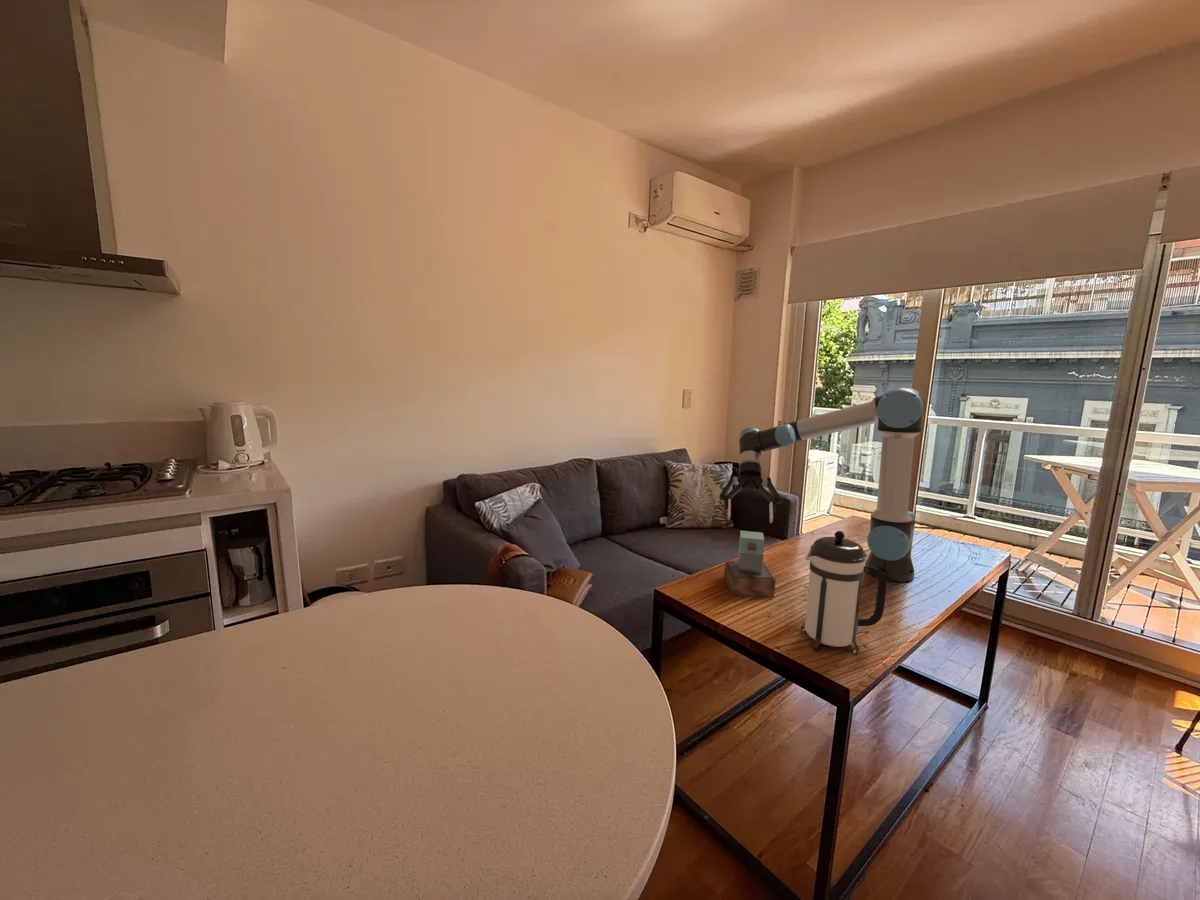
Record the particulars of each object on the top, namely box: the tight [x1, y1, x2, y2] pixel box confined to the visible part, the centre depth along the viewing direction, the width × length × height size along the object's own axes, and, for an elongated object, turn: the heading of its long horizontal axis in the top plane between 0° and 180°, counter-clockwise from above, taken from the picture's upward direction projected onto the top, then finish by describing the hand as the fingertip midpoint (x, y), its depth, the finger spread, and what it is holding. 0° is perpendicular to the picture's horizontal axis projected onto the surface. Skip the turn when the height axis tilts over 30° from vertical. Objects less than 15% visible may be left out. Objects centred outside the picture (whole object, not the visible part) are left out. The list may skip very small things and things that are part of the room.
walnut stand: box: [723, 560, 777, 598], centre depth 162 cm, size 13×13×6 cm
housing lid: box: [739, 530, 765, 556], centre depth 159 cm, size 7×9×5 cm
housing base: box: [737, 546, 764, 575], centre depth 161 cm, size 7×7×6 cm
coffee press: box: [800, 530, 887, 654], centre depth 129 cm, size 17×16×30 cm
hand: (749, 519), depth 167 cm, fingers open, 13 cm apart
